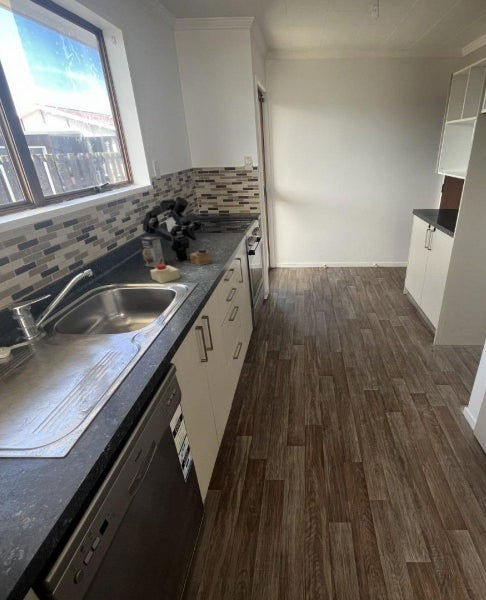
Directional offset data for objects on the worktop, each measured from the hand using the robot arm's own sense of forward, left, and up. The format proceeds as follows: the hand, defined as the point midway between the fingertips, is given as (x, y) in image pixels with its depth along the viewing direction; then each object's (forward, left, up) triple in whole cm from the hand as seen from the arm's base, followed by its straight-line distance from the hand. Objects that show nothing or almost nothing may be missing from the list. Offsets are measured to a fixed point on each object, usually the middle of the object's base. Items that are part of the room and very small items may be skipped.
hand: (195, 240), depth 183 cm
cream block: (+8, -24, -14) cm, 29 cm away
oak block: (0, +2, -14) cm, 14 cm away
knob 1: (+10, -26, -8) cm, 29 cm away
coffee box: (-16, -18, -14) cm, 28 cm away
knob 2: (+3, +2, -7) cm, 8 cm away
